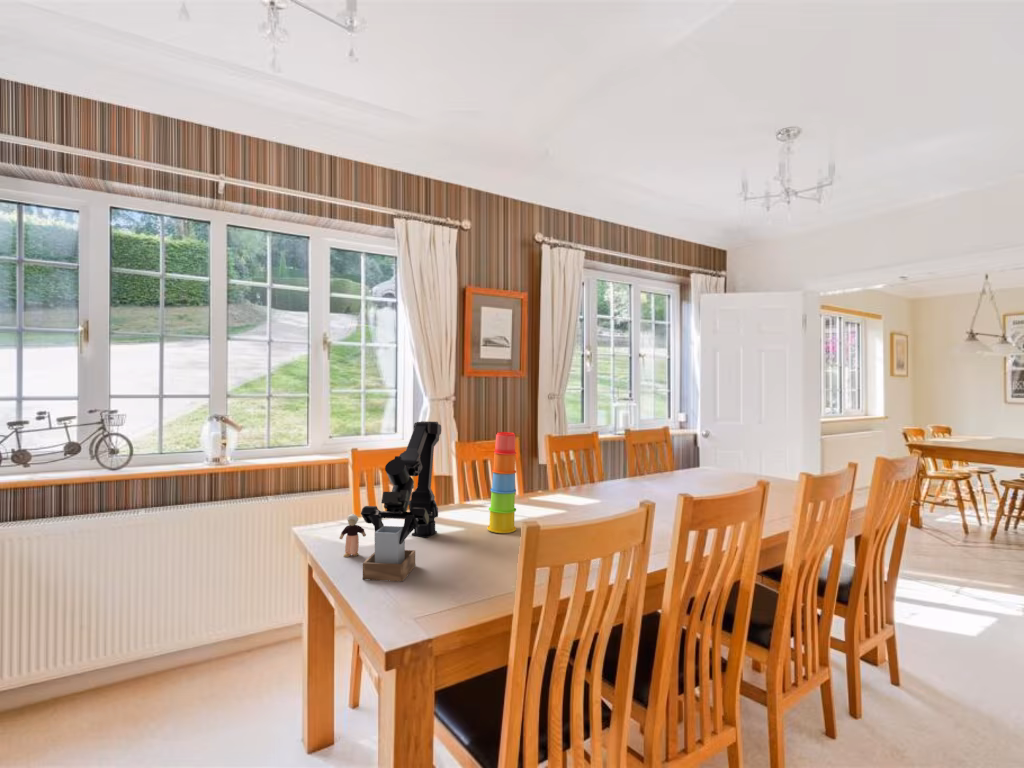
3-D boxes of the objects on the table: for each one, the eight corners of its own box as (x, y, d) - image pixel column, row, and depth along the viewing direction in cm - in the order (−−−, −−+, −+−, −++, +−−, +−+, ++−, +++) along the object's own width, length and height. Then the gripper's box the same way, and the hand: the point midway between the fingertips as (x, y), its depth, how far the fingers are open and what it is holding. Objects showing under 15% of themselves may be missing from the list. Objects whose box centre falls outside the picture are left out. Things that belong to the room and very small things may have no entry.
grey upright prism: (382, 560, 146) (382, 525, 145) (404, 561, 145) (404, 526, 145) (374, 568, 140) (374, 532, 139) (397, 569, 139) (397, 533, 139)
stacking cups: (490, 524, 187) (490, 430, 186) (518, 526, 185) (518, 431, 184) (484, 533, 177) (484, 434, 176) (513, 535, 175) (513, 434, 174)
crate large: (378, 564, 149) (378, 548, 148) (415, 565, 147) (415, 550, 147) (362, 579, 137) (362, 563, 137) (402, 581, 136) (402, 564, 136)
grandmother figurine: (341, 559, 152) (340, 517, 152) (339, 555, 156) (338, 514, 156) (367, 554, 156) (366, 513, 156) (364, 551, 159) (364, 510, 159)
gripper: (363, 478, 147) (346, 528, 136) (426, 479, 145) (414, 530, 134) (373, 498, 155) (359, 547, 144) (433, 500, 153) (423, 549, 142)
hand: (388, 543), depth 141 cm, fingers closed on grey upright prism, 6 cm apart
